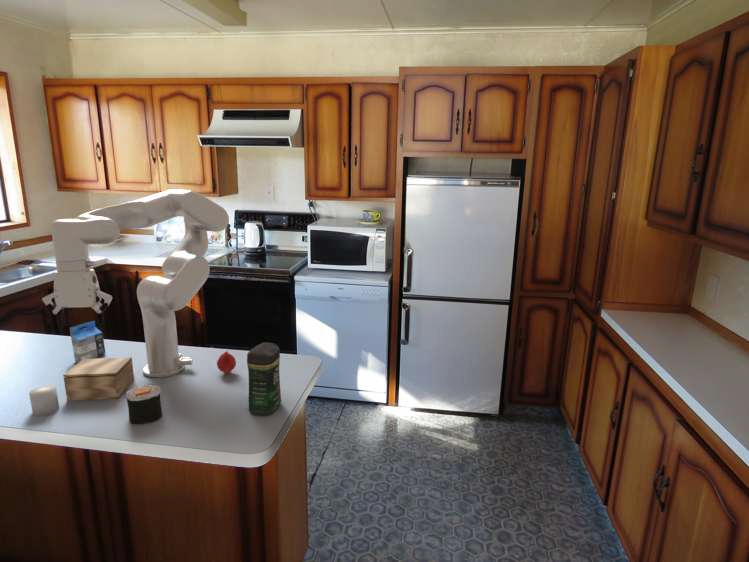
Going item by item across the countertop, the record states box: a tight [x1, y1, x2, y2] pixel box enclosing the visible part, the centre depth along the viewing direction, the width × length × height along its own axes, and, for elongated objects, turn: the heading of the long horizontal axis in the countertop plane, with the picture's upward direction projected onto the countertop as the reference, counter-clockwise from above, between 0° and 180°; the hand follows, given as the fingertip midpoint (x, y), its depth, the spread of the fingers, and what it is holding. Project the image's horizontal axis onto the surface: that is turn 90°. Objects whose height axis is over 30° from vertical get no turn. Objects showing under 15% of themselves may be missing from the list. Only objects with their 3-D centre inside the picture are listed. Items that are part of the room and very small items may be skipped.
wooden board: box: [62, 357, 133, 378], centre depth 138 cm, size 14×12×1 cm
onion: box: [216, 350, 237, 375], centre depth 151 cm, size 6×6×8 cm
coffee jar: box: [246, 341, 282, 416], centre depth 129 cm, size 10×8×19 cm
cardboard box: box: [63, 359, 135, 402], centre depth 139 cm, size 14×12×7 cm
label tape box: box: [69, 320, 107, 363], centre depth 160 cm, size 9×4×12 cm, turn 155°
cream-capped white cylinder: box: [28, 384, 60, 417], centre depth 127 cm, size 6×6×6 cm
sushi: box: [125, 384, 163, 426], centre depth 125 cm, size 8×8×8 cm
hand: (81, 326), depth 129 cm, fingers open, 9 cm apart
